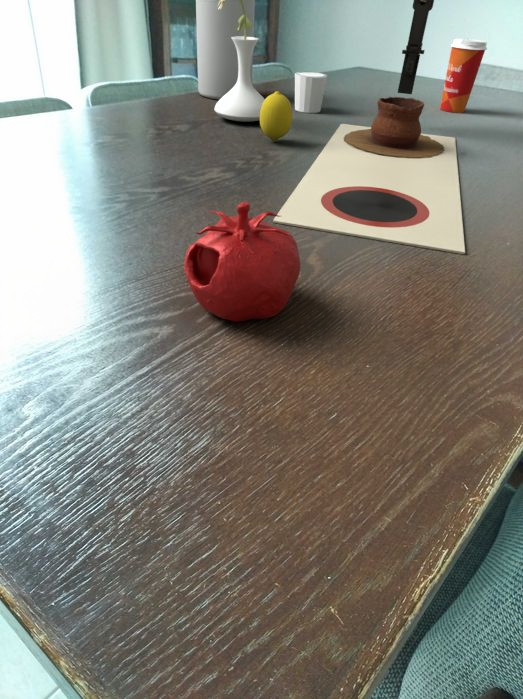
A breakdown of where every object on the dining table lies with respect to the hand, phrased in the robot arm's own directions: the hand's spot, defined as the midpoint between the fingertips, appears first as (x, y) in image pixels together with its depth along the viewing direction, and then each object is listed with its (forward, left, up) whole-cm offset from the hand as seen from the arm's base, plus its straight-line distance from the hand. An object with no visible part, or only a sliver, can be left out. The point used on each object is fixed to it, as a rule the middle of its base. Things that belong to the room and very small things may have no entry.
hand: (404, 92), depth 96 cm
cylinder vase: (+41, -11, -6) cm, 43 cm away
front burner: (0, +46, -6) cm, 47 cm away
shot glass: (+20, -6, -7) cm, 22 cm away
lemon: (+20, +22, -6) cm, 31 cm away
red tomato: (+9, +74, -7) cm, 75 cm away
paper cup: (-11, -24, -7) cm, 27 cm away
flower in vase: (+30, +10, -6) cm, 32 cm away
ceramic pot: (0, +14, -6) cm, 16 cm away
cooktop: (0, +30, -6) cm, 31 cm away
